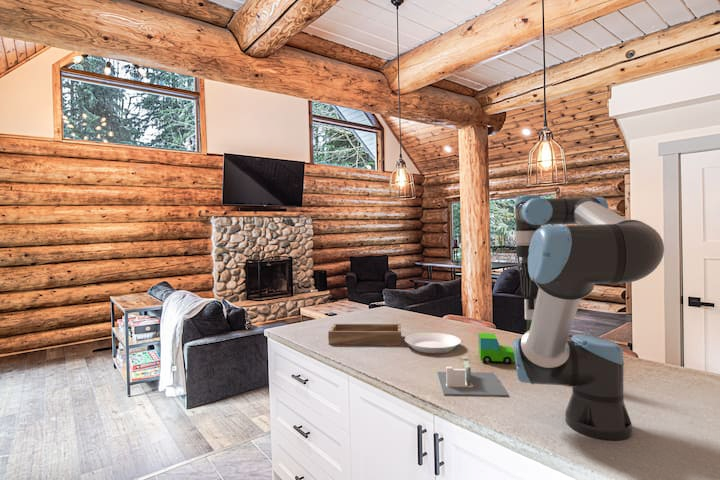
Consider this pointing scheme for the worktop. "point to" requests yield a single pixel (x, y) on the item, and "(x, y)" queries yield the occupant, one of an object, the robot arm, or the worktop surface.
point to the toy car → (494, 349)
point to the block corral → (365, 334)
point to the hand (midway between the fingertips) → (529, 319)
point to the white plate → (432, 342)
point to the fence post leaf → (457, 376)
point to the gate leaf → (465, 366)
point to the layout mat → (475, 385)
